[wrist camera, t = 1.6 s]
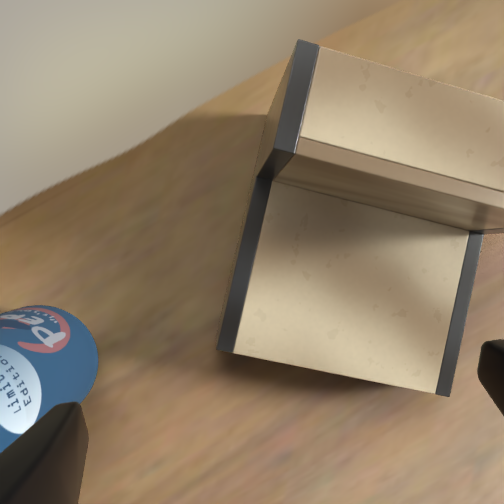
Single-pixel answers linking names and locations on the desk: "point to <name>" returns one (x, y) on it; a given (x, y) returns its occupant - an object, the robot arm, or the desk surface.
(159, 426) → the desk surface
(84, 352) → the soda can
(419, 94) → the shelf
